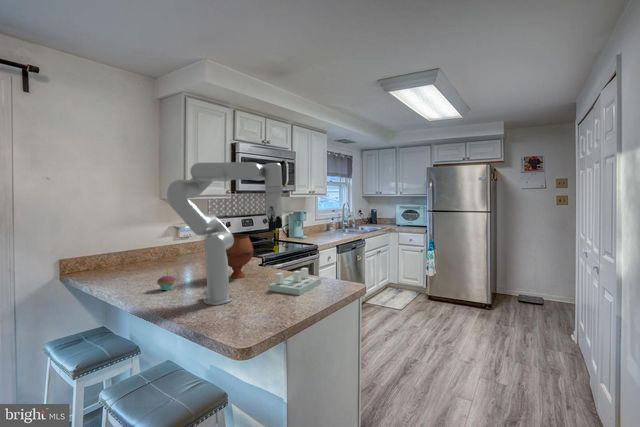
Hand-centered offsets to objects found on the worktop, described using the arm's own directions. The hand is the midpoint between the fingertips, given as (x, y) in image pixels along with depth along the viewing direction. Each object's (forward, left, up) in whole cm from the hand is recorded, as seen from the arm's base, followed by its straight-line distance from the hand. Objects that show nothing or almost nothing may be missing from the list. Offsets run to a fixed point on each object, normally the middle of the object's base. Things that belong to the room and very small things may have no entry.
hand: (275, 229), depth 147 cm
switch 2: (-4, +24, -30) cm, 38 cm away
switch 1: (-10, +16, -30) cm, 35 cm away
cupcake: (-64, -8, -33) cm, 72 cm away
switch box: (-5, +24, -33) cm, 41 cm away
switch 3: (-4, +31, -30) cm, 43 cm away
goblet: (-48, +28, -33) cm, 64 cm away
